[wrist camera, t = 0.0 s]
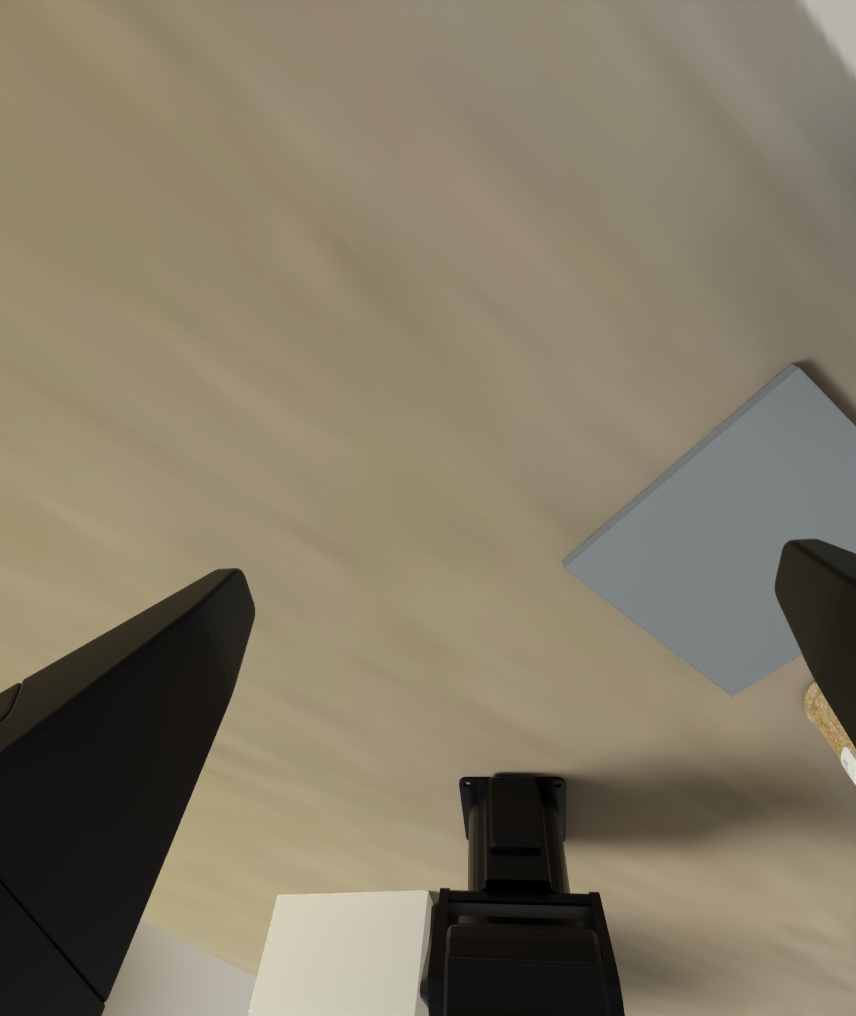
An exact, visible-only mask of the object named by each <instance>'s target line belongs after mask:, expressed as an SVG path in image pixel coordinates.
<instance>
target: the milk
mask: <svg viewBox="0 0 856 1016" xmlns="http://www.w3.org/2000/svg"><path fill="white" fill-rule="evenodd" d="M432 906H433V902H432V899H431V897H430V894H429V892H428V890H424V891H392V892H360V893H328V894H297V895H278V896H277V900H276V904H275V908H274V912H273V916H272V920H271V924H270V928H269V932H268V936H267V940H266V944H265V947H264V951H263V955H262V959H261V963H260V967H259V971H258V975H257V980H256V983H255V988H254V991H253V995H252V999H251V1003H250V1007H249V1011H248V1016H429V1012H428V1008H427V1007H426V1005H425V1004H424V1002H423V1001H422V999H421V998H420V982H421V977H422V972H423V968H424V963H425V958H426V953H427V948H428V943H429V935H430V922H431V907H432Z"/></svg>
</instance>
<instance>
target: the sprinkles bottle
mask: <svg viewBox="0 0 856 1016" xmlns="http://www.w3.org/2000/svg"><path fill="white" fill-rule="evenodd" d="M804 709H805V713H806V715H807V716H808V718H809V719H810V720H811V721H812V723H813V724H815V725H816V726H817V727H818V728H819V730H820V731H821V733H822V734H823V736H824V737H825V738H826V740H827V742H828V743H829V745H830V746H831V747H832V749H833V750H834V751H835V753H836V754H837V756H838V758H839V759H840V761H841V763H842V765H843V767H844V769H845V770H846V772H847V773H848V775H849V776H850V778H851V779H852V781H853V782H854V784H855V785H856V748H855V747H854V745H853V743H852V742H851V740H850V739H849V737H848V735H847V734H846V732H845V730H844V729H843V727H842V725H841V724H840V722H839V720H838V719H837V717H836V715H835V714H834V712H833V710H832V709H831V707H830V705H829V704H828V702H827V701H826V699H825V697H824V696H823V694H822V692H821V690H820V689H819V687H818V685H817V683H816V682H813V683H812V684H811V685H810V687H809V689H808V690H807V691H806V693H805V697H804Z"/></svg>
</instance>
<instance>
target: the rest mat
mask: <svg viewBox="0 0 856 1016" xmlns="http://www.w3.org/2000/svg"><path fill="white" fill-rule="evenodd" d="M796 539H819V540H822V541H824V542H827V543H830V544H832V545H835V546H838V547H840V548H843V549H845V550H848V551H851V552H853V553H856V426H855V425H854V424H853V423H852V422H851V421H850V420H849V419H848V418H847V417H846V416H845V415H844V414H843V413H842V412H841V411H840V409H839V408H838V407H837V406H836V405H835V404H834V403H833V402H832V401H831V400H830V399H829V398H828V397H827V396H826V395H825V394H824V393H823V392H822V391H821V390H820V389H819V388H818V387H817V386H816V384H815V383H814V382H813V381H812V380H811V379H810V378H809V377H808V376H807V375H806V374H805V373H804V372H803V371H802V370H801V369H800V368H799V367H797V366H795V365H793V364H790V365H789V366H788V367H787V368H786V369H784V370H783V371H782V372H781V373H780V374H779V375H777V376H776V377H775V378H774V379H773V380H772V381H770V382H769V383H768V384H767V385H766V386H765V387H763V388H762V389H761V390H760V391H759V392H758V393H757V394H755V395H754V396H753V397H752V398H751V399H750V400H748V401H747V402H746V403H745V404H744V405H743V406H741V407H740V408H739V409H738V410H737V411H736V412H735V413H733V414H732V415H731V416H730V417H729V418H728V419H726V420H725V421H724V422H723V423H722V424H721V425H719V426H718V427H717V428H716V429H715V430H714V431H712V432H711V433H710V434H709V435H708V436H707V437H706V438H704V439H703V440H702V441H701V442H700V443H699V444H697V445H696V446H695V447H694V448H693V449H692V450H690V451H689V452H688V453H687V454H686V455H685V456H683V457H682V458H681V459H680V460H679V461H678V462H677V463H675V464H674V465H673V466H672V467H671V468H670V469H668V470H667V471H666V472H665V473H664V474H663V475H661V476H660V477H659V478H658V479H657V480H656V481H655V482H653V483H652V484H651V485H650V486H649V487H648V488H646V489H645V490H644V491H643V492H642V493H641V494H639V495H638V496H637V497H636V498H635V499H634V500H632V501H631V502H630V503H629V504H628V505H627V506H626V507H624V508H623V509H622V510H621V511H620V512H619V513H617V514H616V515H615V516H614V517H613V518H612V519H610V520H609V521H608V522H607V523H606V524H605V525H603V526H602V527H601V528H600V529H599V530H598V531H597V532H595V533H594V534H593V535H592V536H591V537H590V538H588V539H587V540H586V541H585V542H584V543H583V544H581V545H580V546H579V547H578V548H577V549H576V550H574V551H573V552H572V553H571V554H570V555H569V556H568V557H566V558H565V559H564V560H563V565H564V568H565V569H566V570H567V571H569V572H570V573H571V574H573V575H574V576H575V577H576V578H578V579H579V580H580V581H582V582H583V583H584V584H586V585H587V586H588V587H589V588H591V589H592V590H593V591H595V592H596V593H597V594H599V595H600V596H601V597H602V598H604V599H605V600H606V601H608V602H609V603H610V604H612V605H613V606H614V607H616V608H617V609H618V610H619V611H621V612H622V613H623V614H625V615H626V616H627V617H629V618H630V619H631V620H632V621H634V622H635V623H636V624H638V625H639V626H640V627H642V628H643V629H644V630H645V631H647V632H648V633H649V634H651V635H652V636H653V637H655V638H656V639H657V640H658V641H660V642H661V643H662V644H664V645H665V646H666V647H668V648H669V649H670V650H671V651H673V652H674V653H675V654H677V655H678V656H679V657H681V658H682V659H683V660H685V661H686V662H687V663H688V664H690V665H691V666H692V667H694V668H695V669H696V670H698V671H699V672H700V673H701V674H703V675H704V676H705V677H707V678H708V679H709V680H711V681H712V682H713V683H714V684H716V685H717V686H718V687H720V688H721V689H722V690H724V691H725V692H726V693H727V694H729V695H730V696H731V697H732V696H734V695H736V694H737V693H739V692H740V691H742V690H744V689H745V688H747V687H749V686H750V685H752V684H754V683H755V682H757V681H758V680H760V679H762V678H763V677H765V676H767V675H768V674H770V673H772V672H773V671H775V670H777V669H778V668H780V667H781V666H783V665H785V664H786V663H788V662H790V661H791V660H793V659H795V658H796V657H798V656H799V655H801V654H802V653H801V650H800V648H799V646H798V644H797V642H796V640H795V637H794V635H793V633H792V631H791V629H790V626H789V624H788V622H787V620H786V618H785V616H784V613H783V611H782V609H781V607H780V605H779V602H778V600H777V598H776V594H775V579H776V575H777V570H778V566H779V561H780V557H781V552H782V549H783V546H784V545H785V543H786V542H788V541H789V540H796Z"/></svg>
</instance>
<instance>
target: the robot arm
mask: <svg viewBox="0 0 856 1016" xmlns="http://www.w3.org/2000/svg"><path fill="white" fill-rule="evenodd" d="M775 594H776V598H777V600H778V602H779V605H780V607H781V609H782V611H783V613H784V616H785V618H786V620H787V622H788V624H789V626H790V629H791V631H792V633H793V635H794V637H795V640H796V642H797V644H798V646H799V648H800V650H801V653H802V655H803V657H804V659H805V661H806V663H807V666H808V668H809V670H810V672H811V674H812V676H813V678H814V680H815V682H816V683H817V685H818V687H819V689H820V690H821V692H822V694H823V696H824V697H825V699H826V701H827V702H828V704H829V705H830V707H831V709H832V710H833V712H834V714H835V715H836V717H837V719H838V720H839V722H840V724H841V725H842V727H843V729H844V730H845V732H846V734H847V735H848V737H849V739H850V740H851V742H852V743H853V745H854V747H855V748H856V553H853V552H851V551H848V550H845V549H843V548H840V547H838V546H835V545H832V544H830V543H827V542H824V541H822V540H819V539H796V540H789V541H788V542H786V543H785V545H784V546H783V549H782V552H781V557H780V561H779V566H778V570H777V575H776V579H775ZM254 618H255V606H254V602H253V599H252V596H251V593H250V590H249V587H248V584H247V581H246V578H245V575H244V573H243V572H242V570H240V569H238V568H228V569H217V570H215V571H213V572H211V573H210V574H208V575H206V576H204V577H203V578H201V579H199V580H197V581H196V582H194V583H192V584H190V585H189V586H187V587H185V588H183V589H182V590H180V591H178V592H176V593H175V594H173V595H171V596H169V597H168V598H166V599H164V600H162V601H161V602H159V603H157V604H155V605H154V606H152V607H150V608H148V609H147V610H145V611H143V612H141V613H140V614H138V615H136V616H134V617H133V618H131V619H129V620H127V621H126V622H124V623H122V624H120V625H119V626H117V627H115V628H113V629H112V630H110V631H108V632H106V633H105V634H103V635H101V636H99V637H98V638H96V639H94V640H92V641H91V642H89V643H87V644H85V645H84V646H82V647H80V648H78V649H77V650H75V651H73V652H71V653H70V654H68V655H66V656H64V657H63V658H61V659H59V660H57V661H56V662H54V663H52V664H50V665H49V666H47V667H45V668H43V669H42V670H40V671H38V672H36V673H35V674H33V675H31V676H29V677H28V678H26V679H24V680H23V682H22V684H21V683H17V684H15V685H13V686H12V687H10V688H8V689H6V690H5V691H3V692H1V693H0V1016H101V1015H102V1013H103V1011H104V1008H105V1004H104V1002H106V1001H107V1000H108V998H109V995H110V993H111V990H112V988H113V985H114V983H115V980H116V978H117V975H118V973H119V971H120V968H121V965H122V963H123V961H124V958H125V956H126V954H127V951H128V949H129V946H130V944H131V941H132V939H133V936H134V934H135V932H136V929H137V926H138V924H139V922H140V919H141V917H142V914H143V912H144V910H145V907H146V905H147V902H148V900H149V897H150V895H151V892H152V890H153V888H154V885H155V883H156V880H157V878H158V875H159V873H160V870H161V868H162V866H163V863H164V861H165V858H166V856H167V853H168V851H169V848H170V846H171V844H172V841H173V839H174V836H175V834H176V831H177V829H178V826H179V824H180V822H181V819H182V817H183V814H184V812H185V809H186V807H187V804H188V802H189V800H190V797H191V795H192V792H193V790H194V787H195V785H196V782H197V780H198V778H199V775H200V773H201V770H202V768H203V765H204V763H205V760H206V758H207V756H208V753H209V751H210V748H211V746H212V743H213V741H214V739H215V736H216V734H217V731H218V729H219V726H220V724H221V721H222V719H223V717H224V714H225V712H226V709H227V707H228V704H229V702H230V699H231V696H232V694H233V691H234V688H235V685H236V681H237V678H238V674H239V671H240V667H241V664H242V660H243V657H244V653H245V650H246V646H247V643H248V639H249V636H250V632H251V629H252V625H253V622H254ZM465 782H469V783H471V784H469V785H466V784H464V783H465ZM556 782H559V783H561V784H559V785H555V784H554V783H556ZM459 787H460V794H461V802H462V809H463V817H464V824H465V832H466V838H467V840H468V841H469V851H468V891H460V890H450V888H440V896H439V902H438V903H436V904H434V905H433V906H432V907H431V922H430V935H429V943H428V948H427V953H426V958H425V963H424V968H423V972H422V977H421V982H420V998H421V999H422V1001H423V1002H424V1004H425V1005H426V1007H427V1008H428V1012H429V1016H625V1014H624V1007H623V999H622V993H621V987H620V981H619V976H618V971H617V967H616V962H615V958H614V954H613V949H612V945H611V941H610V937H609V932H608V928H607V924H606V920H605V915H604V911H603V907H602V903H601V898H600V894H599V892H589V894H572V893H570V888H569V881H568V874H567V866H566V859H565V852H564V844H563V842H564V841H565V832H566V782H565V780H564V779H563V778H561V777H463V778H461V779H460V781H459Z"/></svg>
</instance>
